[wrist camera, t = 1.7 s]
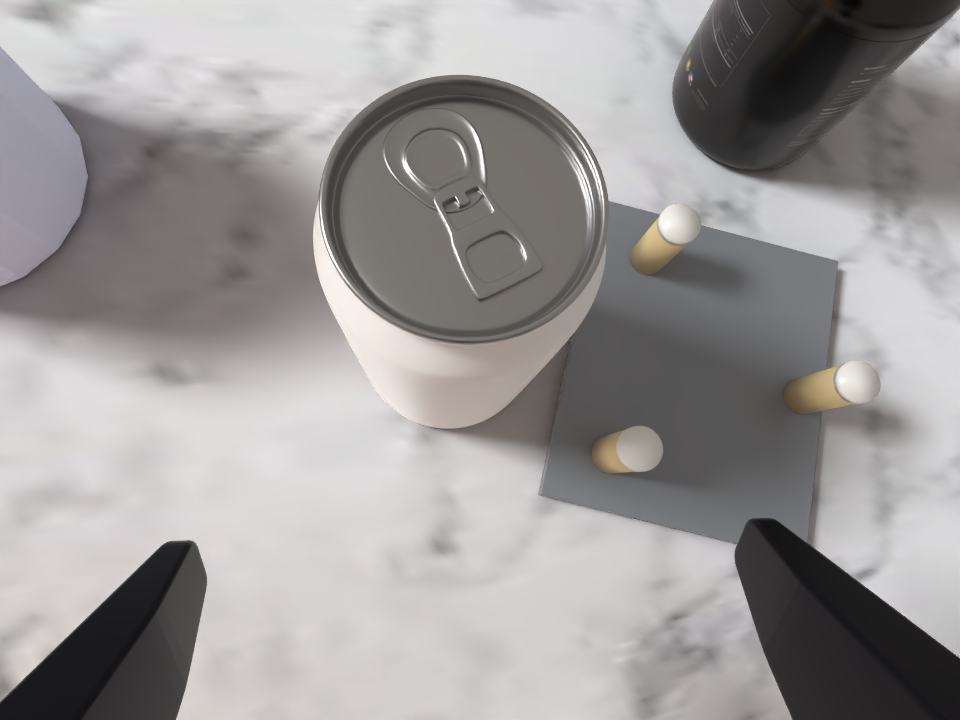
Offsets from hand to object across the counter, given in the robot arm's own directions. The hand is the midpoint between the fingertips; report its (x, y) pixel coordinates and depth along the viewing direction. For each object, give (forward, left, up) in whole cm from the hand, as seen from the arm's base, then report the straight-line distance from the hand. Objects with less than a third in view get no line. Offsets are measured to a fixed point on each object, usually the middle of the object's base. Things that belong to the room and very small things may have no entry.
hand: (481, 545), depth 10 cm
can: (+5, -4, -13) cm, 14 cm away
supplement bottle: (+4, -21, -13) cm, 25 cm away
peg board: (-2, -10, -12) cm, 16 cm away
